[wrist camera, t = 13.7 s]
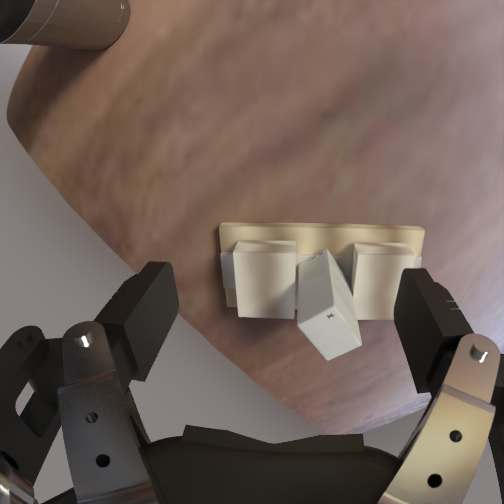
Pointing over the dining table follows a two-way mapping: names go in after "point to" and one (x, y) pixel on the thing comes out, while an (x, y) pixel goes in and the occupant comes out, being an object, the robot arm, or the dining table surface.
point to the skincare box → (326, 306)
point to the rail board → (305, 246)
